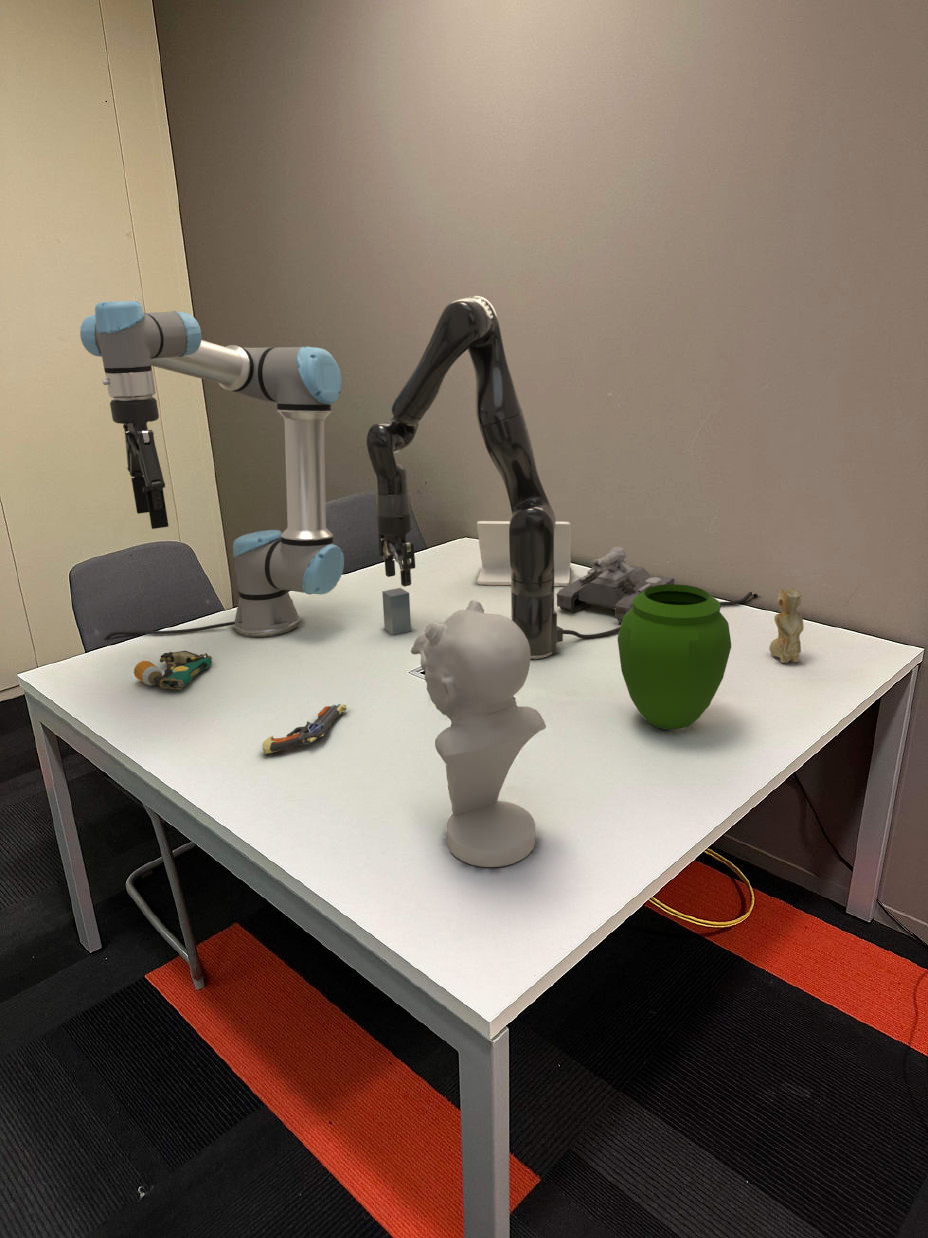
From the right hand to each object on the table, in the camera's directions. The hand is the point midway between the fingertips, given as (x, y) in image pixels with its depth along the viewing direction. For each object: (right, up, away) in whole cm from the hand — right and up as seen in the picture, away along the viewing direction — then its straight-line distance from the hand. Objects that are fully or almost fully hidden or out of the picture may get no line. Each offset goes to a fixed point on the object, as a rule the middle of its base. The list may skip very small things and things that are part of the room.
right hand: (398, 580), depth 196 cm
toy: (+53, -5, +18) cm, 56 cm away
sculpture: (+83, -17, -16) cm, 86 cm away
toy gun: (-14, -30, -41) cm, 52 cm away
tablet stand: (+32, +3, +43) cm, 54 cm away
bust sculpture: (+16, -40, -71) cm, 83 cm away
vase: (+52, -28, -41) cm, 72 cm away
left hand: (-41, +9, -44) cm, 60 cm away
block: (-1, -11, +6) cm, 13 cm away
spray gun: (-46, -21, -16) cm, 53 cm away
